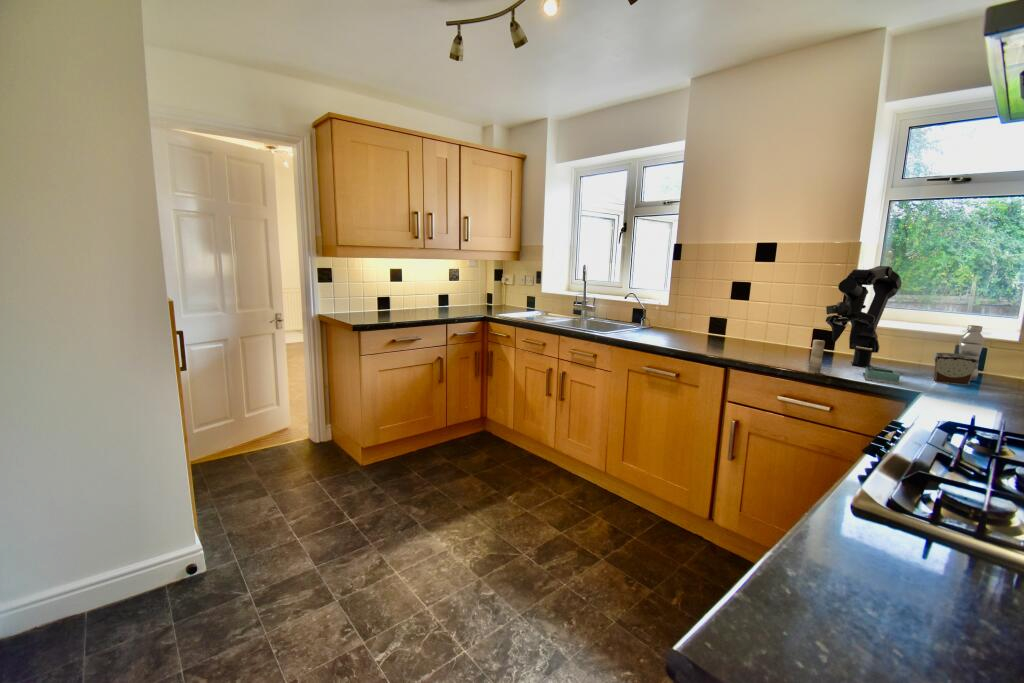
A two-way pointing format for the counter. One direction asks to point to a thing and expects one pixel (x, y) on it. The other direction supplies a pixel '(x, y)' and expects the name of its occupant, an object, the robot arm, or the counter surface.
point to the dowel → (816, 356)
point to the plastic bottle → (972, 345)
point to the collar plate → (882, 375)
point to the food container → (954, 368)
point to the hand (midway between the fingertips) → (842, 340)
